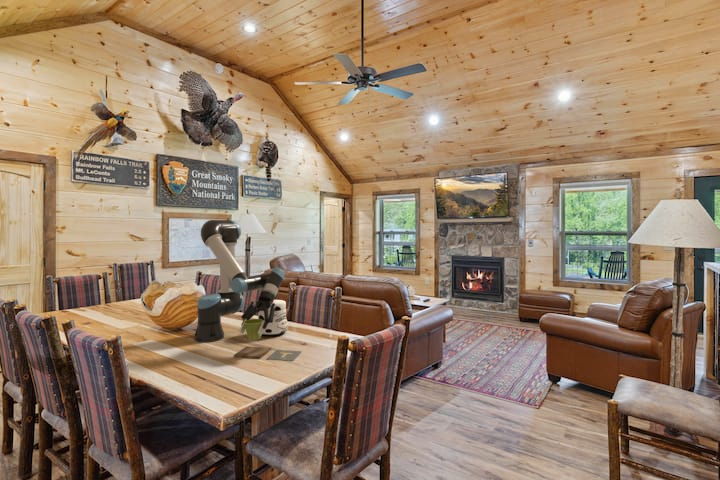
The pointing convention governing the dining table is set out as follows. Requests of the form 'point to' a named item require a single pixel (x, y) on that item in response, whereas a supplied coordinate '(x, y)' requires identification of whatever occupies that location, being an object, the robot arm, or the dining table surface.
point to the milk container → (276, 319)
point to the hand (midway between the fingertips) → (250, 333)
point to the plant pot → (253, 329)
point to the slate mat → (284, 355)
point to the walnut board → (252, 352)
